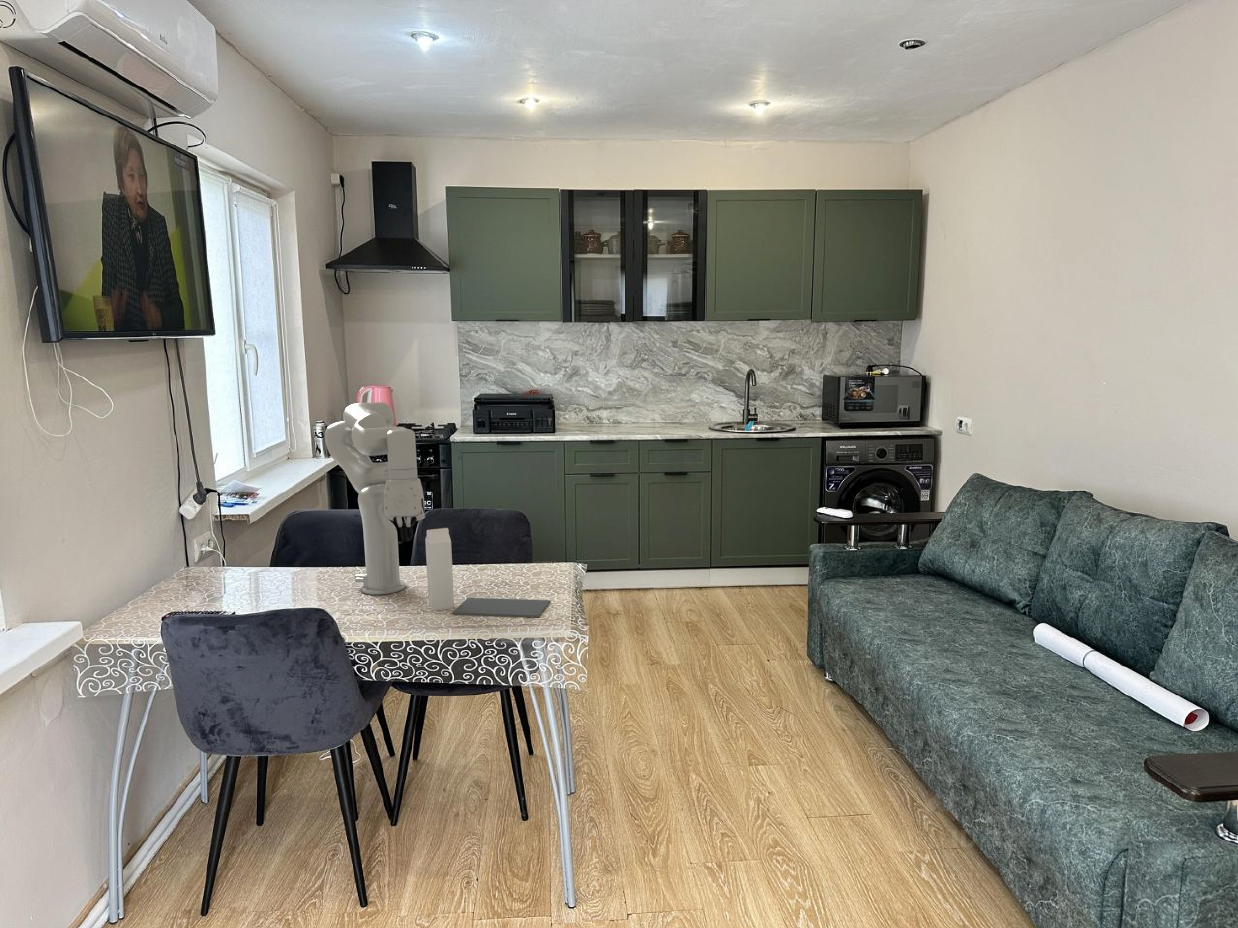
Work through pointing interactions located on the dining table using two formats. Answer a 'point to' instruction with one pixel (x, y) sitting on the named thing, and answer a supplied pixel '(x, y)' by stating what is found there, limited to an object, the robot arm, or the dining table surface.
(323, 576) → the dining table surface
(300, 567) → the dining table surface
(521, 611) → the mat
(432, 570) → the milk
